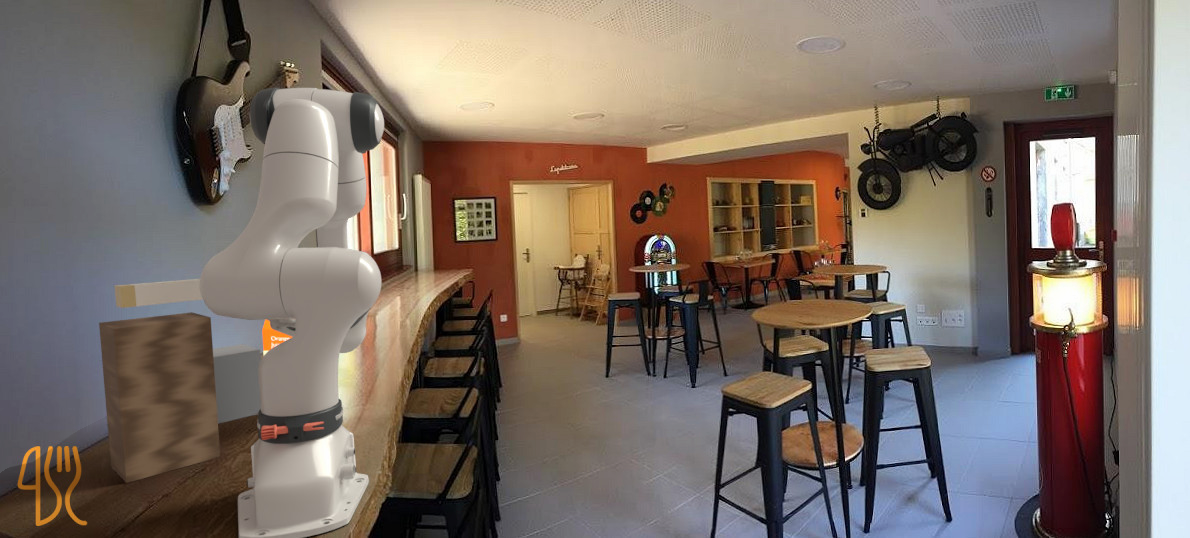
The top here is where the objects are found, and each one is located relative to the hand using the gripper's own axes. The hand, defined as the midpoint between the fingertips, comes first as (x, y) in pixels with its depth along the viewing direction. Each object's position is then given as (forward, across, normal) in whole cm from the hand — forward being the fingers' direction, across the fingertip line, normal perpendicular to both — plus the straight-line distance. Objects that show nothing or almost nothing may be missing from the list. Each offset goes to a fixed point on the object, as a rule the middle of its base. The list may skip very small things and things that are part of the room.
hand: (224, 284), depth 115 cm
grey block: (-22, -21, +23) cm, 38 cm away
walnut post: (-6, 0, +33) cm, 33 cm away
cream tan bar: (+4, 0, +5) cm, 7 cm away
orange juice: (-40, -43, +12) cm, 61 cm away
